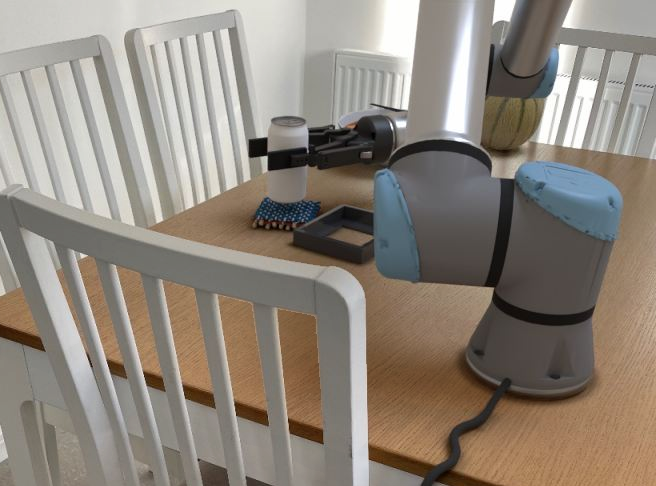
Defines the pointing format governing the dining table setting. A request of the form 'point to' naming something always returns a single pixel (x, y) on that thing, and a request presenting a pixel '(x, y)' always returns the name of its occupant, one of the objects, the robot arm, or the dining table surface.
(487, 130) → the cantaloupe
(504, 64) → the robot arm
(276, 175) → the can
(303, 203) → the woven mat
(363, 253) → the tray
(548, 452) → the dining table surface
